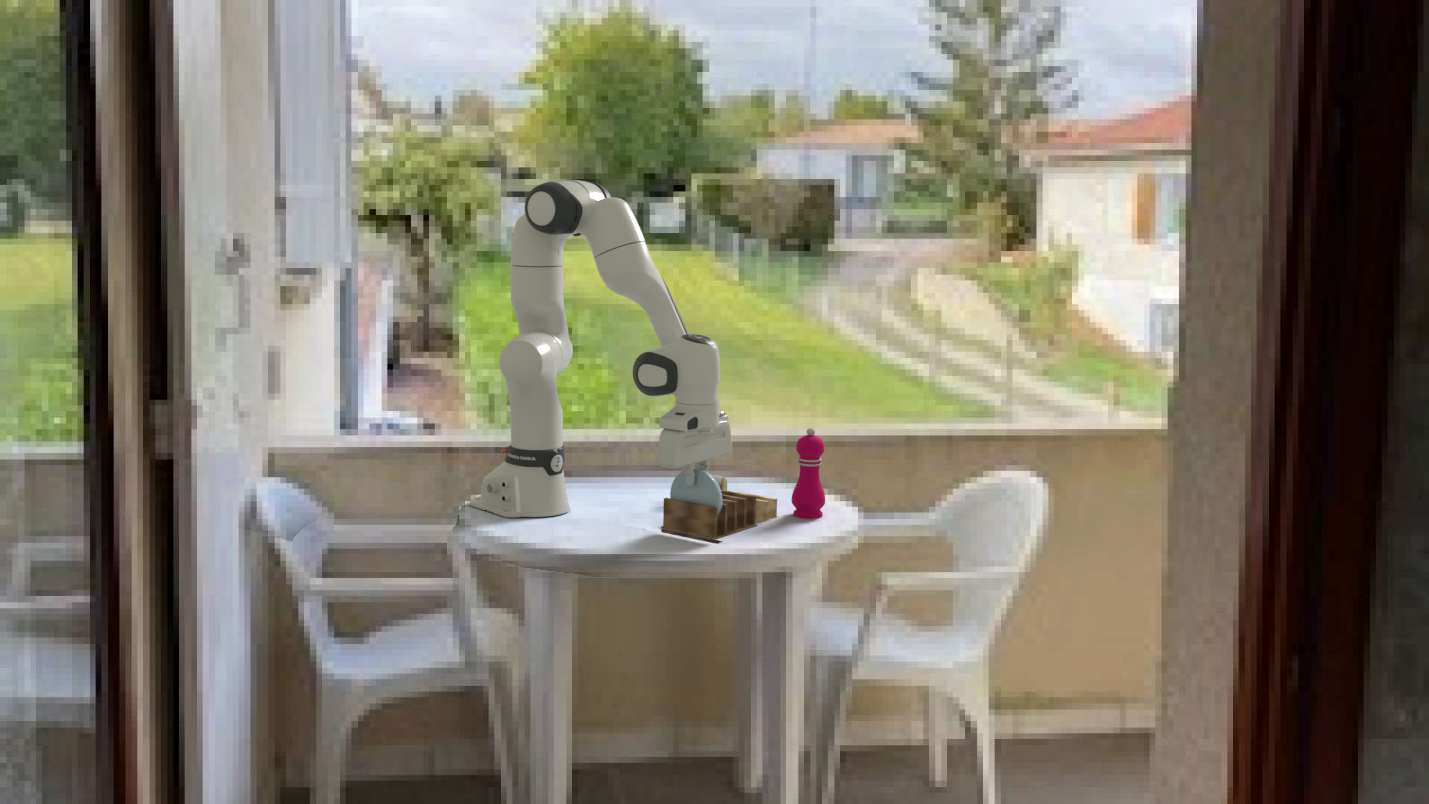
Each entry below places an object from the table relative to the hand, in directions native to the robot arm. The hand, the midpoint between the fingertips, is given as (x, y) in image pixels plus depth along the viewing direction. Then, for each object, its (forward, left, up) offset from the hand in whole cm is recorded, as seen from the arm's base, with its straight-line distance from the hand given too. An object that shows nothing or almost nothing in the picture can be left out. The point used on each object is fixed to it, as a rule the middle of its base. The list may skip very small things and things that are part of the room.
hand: (695, 483), depth 296 cm
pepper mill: (+10, +27, -11) cm, 31 cm away
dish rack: (0, +5, -11) cm, 12 cm away
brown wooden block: (+1, +19, -11) cm, 22 cm away
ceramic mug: (-14, +23, -11) cm, 29 cm away
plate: (0, 0, -9) cm, 9 cm away
